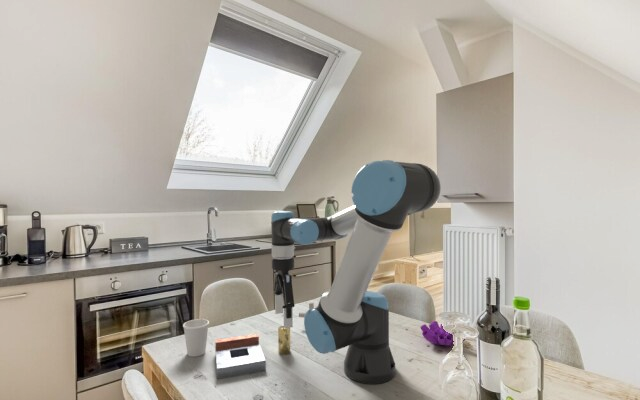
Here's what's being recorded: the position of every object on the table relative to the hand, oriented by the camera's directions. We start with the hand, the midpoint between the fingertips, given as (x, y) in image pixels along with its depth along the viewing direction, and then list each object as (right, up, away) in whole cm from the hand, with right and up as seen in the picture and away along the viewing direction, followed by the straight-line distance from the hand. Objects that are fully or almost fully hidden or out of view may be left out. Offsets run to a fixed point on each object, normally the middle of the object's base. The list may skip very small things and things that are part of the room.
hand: (283, 320), depth 112 cm
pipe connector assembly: (+55, -10, +5) cm, 56 cm away
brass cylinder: (0, -11, 0) cm, 11 cm away
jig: (-13, -11, -7) cm, 18 cm away
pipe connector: (+9, -11, +21) cm, 25 cm away
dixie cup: (-29, -11, 0) cm, 31 cm away
